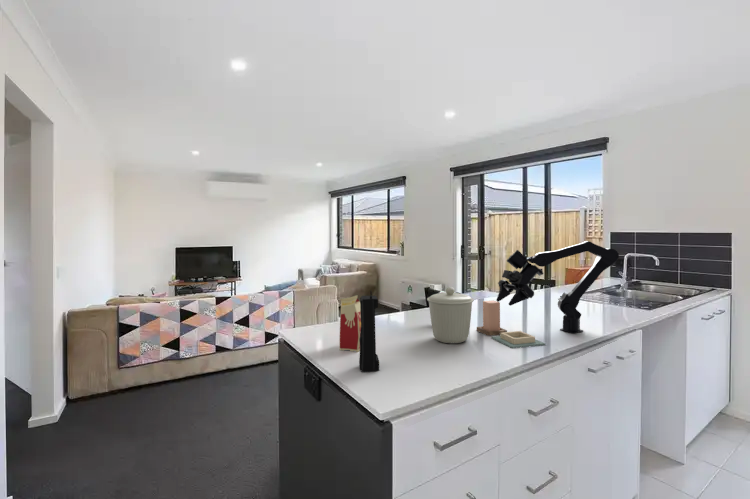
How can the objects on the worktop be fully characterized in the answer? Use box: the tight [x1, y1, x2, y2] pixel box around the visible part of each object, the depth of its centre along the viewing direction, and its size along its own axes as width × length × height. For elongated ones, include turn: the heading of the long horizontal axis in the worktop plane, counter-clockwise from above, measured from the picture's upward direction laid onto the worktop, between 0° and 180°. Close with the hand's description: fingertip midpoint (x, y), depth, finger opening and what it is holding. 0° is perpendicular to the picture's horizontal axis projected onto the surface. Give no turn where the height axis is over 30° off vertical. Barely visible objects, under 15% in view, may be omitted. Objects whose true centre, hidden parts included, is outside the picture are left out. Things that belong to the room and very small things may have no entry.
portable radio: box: [358, 291, 380, 373], centre depth 115 cm, size 8×6×25 cm
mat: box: [490, 330, 546, 349], centre depth 140 cm, size 14×14×3 cm
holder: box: [476, 325, 508, 337], centre depth 154 cm, size 9×9×2 cm
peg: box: [482, 300, 501, 331], centre depth 153 cm, size 5×5×13 cm
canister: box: [426, 286, 475, 344], centre depth 143 cm, size 18×18×21 cm
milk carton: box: [339, 294, 361, 353], centre depth 136 cm, size 9×9×20 cm
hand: (503, 302), depth 155 cm, fingers open, 9 cm apart
